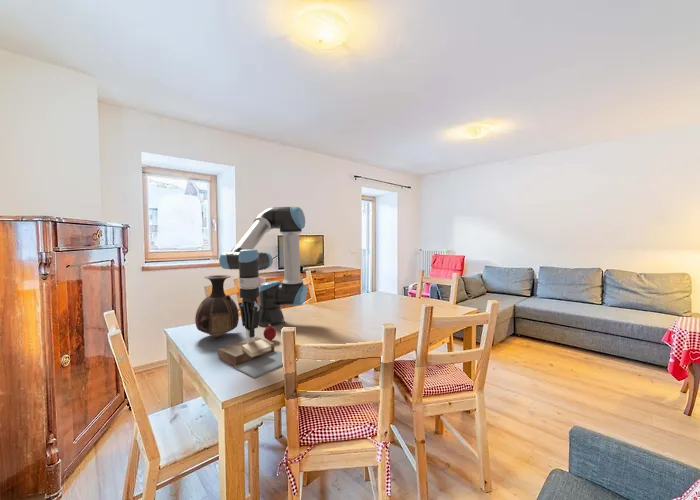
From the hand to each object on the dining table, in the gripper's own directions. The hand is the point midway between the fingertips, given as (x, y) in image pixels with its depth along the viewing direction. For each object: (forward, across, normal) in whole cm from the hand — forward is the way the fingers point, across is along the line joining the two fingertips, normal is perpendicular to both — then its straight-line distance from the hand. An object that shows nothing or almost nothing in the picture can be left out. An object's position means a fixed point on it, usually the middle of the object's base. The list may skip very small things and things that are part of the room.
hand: (250, 344), depth 126 cm
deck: (+5, -3, 0) cm, 6 cm away
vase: (+6, -34, +4) cm, 35 cm away
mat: (+5, +10, 0) cm, 12 cm away
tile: (+2, +4, 0) cm, 4 cm away
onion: (+6, -9, +16) cm, 19 cm away
